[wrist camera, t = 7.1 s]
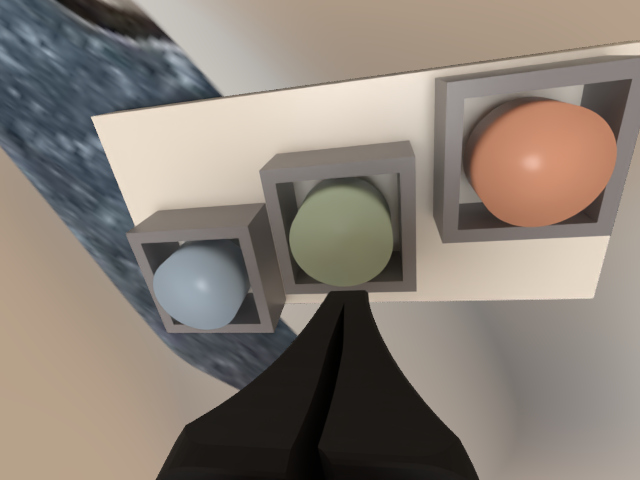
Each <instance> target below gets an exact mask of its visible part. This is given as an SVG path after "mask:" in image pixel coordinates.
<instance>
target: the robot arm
mask: <svg viewBox="0 0 640 480" xmlns="http://www.w3.org/2000/svg"><path fill="white" fill-rule="evenodd" d="M156 480H479V478H478V476H477V473H476V471H475V469H474V466H473V464H472V462H471V460H470V458H469V456H468V454H467V452H466V450H465V448H464V446H463V445H462V443H461V441H460V439H459V438H458V437H457V436H456V435H455V434H454V433H453V432H452V431H451V430H450V429H449V428H448V427H447V426H446V425H445V424H444V423H443V422H442V421H441V420H440V419H439V417H438V416H437V415H436V414H435V413H434V412H433V411H432V410H431V409H430V407H429V406H428V405H427V404H426V403H425V402H424V400H423V399H422V398H421V397H420V395H419V394H418V393H417V392H416V390H415V389H414V388H413V386H412V385H411V384H410V383H409V381H408V380H407V378H406V377H405V376H404V374H403V373H402V371H401V370H400V368H399V367H398V365H397V363H396V362H395V360H394V359H393V357H392V356H391V354H390V352H389V350H388V348H387V346H386V344H385V343H384V341H383V339H382V337H381V335H380V332H379V330H378V328H377V325H376V323H375V320H374V318H373V315H372V312H371V309H370V305H369V295H368V292H367V291H366V290H347V291H330V292H329V293H328V294H327V296H326V298H325V299H324V301H323V302H322V304H321V305H320V307H319V309H318V310H317V311H316V313H315V314H314V316H313V317H312V319H311V320H310V321H309V323H308V324H307V325H306V327H305V328H304V329H303V330H302V332H301V333H300V334H299V335H298V337H297V338H296V339H295V340H294V341H293V342H292V344H291V345H290V346H289V347H288V348H287V349H286V350H285V351H284V353H283V354H282V355H281V356H280V357H279V358H278V359H277V360H276V361H275V362H274V363H273V364H272V365H271V366H269V367H268V368H267V369H266V370H265V371H264V372H263V373H262V374H260V375H259V376H258V377H257V378H256V379H254V380H253V381H252V382H251V383H250V384H248V385H247V386H246V387H244V388H243V389H242V390H240V391H239V392H238V393H236V394H235V395H234V396H232V397H231V398H229V399H228V400H226V401H225V402H223V403H222V404H220V405H219V406H217V407H216V408H214V409H212V410H211V411H209V412H208V413H206V414H204V415H203V416H201V417H199V418H198V419H196V420H194V421H193V422H191V423H189V424H187V425H186V426H185V427H184V429H183V431H182V432H181V434H180V435H179V437H178V439H177V440H176V442H175V444H174V446H173V447H172V449H171V451H170V453H169V455H168V457H167V459H166V461H165V463H164V465H163V467H162V469H161V471H160V472H159V474H158V477H157V478H156Z"/></svg>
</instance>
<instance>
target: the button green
mask: <svg viewBox="0 0 640 480" xmlns="http://www.w3.org/2000/svg"><path fill="white" fill-rule="evenodd" d="M289 241H290V248H291V252H292V254H293V256H294V258H295V260H296V262H297V263H298V265H299V266H300V267H301V268H302V269H303V270H304V271H305V272H306V273H307V274H308V275H309V276H311V277H312V278H314V279H316V280H318V281H320V282H322V283H325V284H328V285H333V286H343V287H346V286H354V285H359V284H362V283H365V282H367V281H369V280H371V279H372V278H374V277H375V276H377V275H378V274H379V273H380V272H381V271H382V270H383V269H384V268H385V266H386V265H387V263H388V261H389V259H390V257H391V254H392V249H393V234H392V223H391V213H390V209H389V205H388V203H387V201H386V199H385V198H384V196H383V195H382V194H381V192H380V191H379V190H378V189H377V188H376V187H374V186H373V185H372V184H370V183H368V182H366V181H364V180H362V179H359V178H355V177H344V178H332V179H327V180H324V181H322V182H321V183H319V184H317V185H316V186H315V187H313V188H312V189H311V190H310V192H309V193H308V194H307V196H306V197H305V199H304V201H303V203H302V205H301V207H300V209H299V211H298V213H297V215H296V217H295V219H294V221H293V223H292V226H291V229H290V235H289Z"/></svg>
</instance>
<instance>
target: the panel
mask: <svg viewBox="0 0 640 480" xmlns="http://www.w3.org/2000/svg"><path fill="white" fill-rule="evenodd" d="M523 97H544V98H549V99H553V100H557V101H561V102H565V103H569V104H573V105H577V106H581V107H584V108H587V109H589V110H592V111H593V112H595V113H597V114H598V115H599V116H601V117H602V118H603V119H604V120H605V121H606V122H607V124H608V125H609V126H610V128H611V130H612V132H613V134H614V137H615V140H616V146H617V157H616V163H615V167H614V170H613V173H612V175H611V178H610V180H609V182H608V183H607V185H606V186H605V188H604V189H603V191H602V192H601V193H600V194H599V196H598V197H597V198H596V199H595V200H594V201H593V202H592V203H591V204H589V205H588V206H587V207H586V208H585V209H583V210H582V211H580V212H579V213H577V214H576V215H574V216H572V217H570V218H568V219H566V220H563V221H561V222H558V223H555V224H552V225H547V226H541V227H522V226H516V225H512V224H509V223H506V222H504V221H502V220H500V219H499V218H497V217H496V216H494V215H493V214H492V213H491V212H490V211H489V210H488V209H487V207H486V206H485V205H484V203H483V202H482V201H481V199H480V198H479V196H478V195H477V194H476V192H475V191H474V189H473V188H472V187H471V185H470V184H469V182H468V180H467V178H466V175H465V172H464V167H463V156H464V150H465V146H466V144H467V141H468V139H469V137H470V135H471V133H472V131H473V130H474V128H475V127H476V126H477V124H478V123H479V122H480V121H481V120H482V119H483V118H484V117H485V116H486V115H487V114H488V113H490V112H491V111H492V110H494V109H495V108H497V107H499V106H500V105H502V104H504V103H507V102H509V101H512V100H515V99H518V98H523ZM91 118H92V121H93V123H94V126H95V128H96V131H97V133H98V136H99V138H100V141H101V143H102V146H103V148H104V150H105V153H106V155H107V158H108V160H109V163H110V165H111V168H112V170H113V173H114V175H115V178H116V180H117V182H118V185H119V187H120V190H121V192H122V195H123V197H124V200H125V202H126V205H127V207H128V210H129V212H130V215H131V217H132V219H133V222H134V224H135V227H134V228H132V229H131V230H130V231H128V232H127V233H126V236H127V238H128V241H129V243H130V245H131V248H132V250H133V252H134V255H135V257H136V259H137V262H138V264H139V267H140V269H141V271H142V274H143V276H144V278H145V281H146V283H147V285H148V288H149V290H150V292H151V295H152V297H153V300H154V302H155V304H156V307H157V309H158V311H159V314H160V316H161V318H162V321H163V323H164V326H165V328H166V330H167V333H274V331H275V328H276V326H277V323H278V320H279V318H280V315H281V312H282V309H283V307H284V304H301V303H304V304H305V303H322V302H323V301H324V299H325V298H326V296H327V294H328V293H329V292H330V291H347V290H366V291H367V292H368V295H369V302H414V301H415V302H416V301H417V302H418V301H476V300H529V299H530V300H533V299H586V298H587V299H589V298H594V294H595V290H596V287H597V283H598V279H599V276H600V272H601V268H602V264H603V260H604V257H605V253H606V249H607V245H608V242H609V238H610V236H611V233H612V229H613V226H614V222H615V218H616V215H617V211H618V207H619V203H620V200H621V196H622V192H623V189H624V185H625V181H626V177H627V174H628V170H629V166H630V162H631V159H632V155H633V152H634V148H635V144H636V140H637V136H638V133H639V129H640V41H627V42H620V43H612V44H604V45H597V46H590V47H582V48H576V49H568V50H561V51H553V52H547V53H539V54H532V55H524V56H517V57H509V58H502V59H496V60H488V61H480V62H474V63H466V64H458V65H451V66H444V67H437V68H429V69H422V70H415V71H407V72H401V73H393V74H386V75H378V76H371V77H364V78H357V79H349V80H342V81H334V82H327V83H320V84H313V85H305V86H298V87H291V88H283V89H276V90H269V91H261V92H254V93H247V94H239V95H232V96H225V97H218V98H210V99H203V100H196V101H188V102H181V103H174V104H166V105H159V106H152V107H145V108H137V109H130V110H123V111H116V112H111V113H106V114H102V115H97V116H92V117H91ZM344 177H355V178H359V179H362V180H364V181H366V182H368V183H370V184H372V185H373V186H374V187H376V188H377V189H378V190H379V191H380V192H381V194H382V195H383V196H384V198H385V199H386V201H387V203H388V205H389V209H390V213H391V223H392V234H393V249H392V254H391V257H390V259H389V261H388V263H387V265H386V266H385V268H384V269H383V270H382V271H381V272H380V273H379V274H378V275H377V276H375V277H374V278H372V279H371V280H369V281H367V282H365V283H362V284H359V285H354V286H346V287H343V286H333V285H328V284H325V283H322V282H320V281H318V280H316V279H314V278H312V277H311V276H309V275H308V274H307V273H306V272H305V271H304V270H303V269H302V268H301V267H300V266H299V265H298V263H297V262H296V260H295V258H294V256H293V254H292V252H291V248H290V241H289V235H290V229H291V226H292V223H293V221H294V219H295V217H296V215H297V213H298V211H299V209H300V207H301V205H302V203H303V201H304V199H305V197H306V196H307V194H308V193H309V192H310V190H311V189H312V188H313V187H315V186H316V185H317V184H319V183H321V182H322V181H324V180H327V179H332V178H344ZM213 239H228V240H230V241H231V242H233V243H234V244H236V245H237V246H238V247H239V248H240V249H241V250H242V254H243V257H244V261H245V265H246V269H247V273H248V276H249V280H250V284H251V288H250V289H249V291H248V293H247V295H246V297H245V299H244V300H243V302H242V304H241V306H240V308H239V310H238V311H237V313H236V315H235V317H234V318H233V320H232V321H231V322H230V323H228V324H227V325H225V326H223V327H221V328H217V329H211V330H203V329H197V328H193V327H190V326H187V325H185V324H183V323H181V322H179V321H177V320H176V319H174V318H173V317H172V316H170V315H169V314H168V313H167V312H166V311H165V310H164V309H163V307H162V306H161V305H160V303H159V302H158V300H157V298H156V296H155V293H154V288H153V278H154V275H155V272H156V270H157V269H158V268H159V266H160V265H161V264H163V263H164V262H165V261H166V260H167V259H168V258H169V257H170V256H171V255H172V254H173V253H174V252H175V251H176V250H177V249H178V248H179V247H180V246H181V245H182V244H183V243H184V242H185V241H195V240H213Z"/></svg>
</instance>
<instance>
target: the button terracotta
mask: <svg viewBox="0 0 640 480" xmlns="http://www.w3.org/2000/svg"><path fill="white" fill-rule="evenodd" d="M616 157H617V146H616V140H615V137H614V134H613V132H612V130H611V128H610V126H609V125H608V124H607V122H606V121H605V120H604V119H603V118H602V117H601V116H599V115H598V114H597V113H595V112H593V111H592V110H589V109H587V108H584V107H581V106H577V105H573V104H569V103H565V102H561V101H557V100H553V99H549V98H544V97H523V98H518V99H515V100H512V101H509V102H507V103H504V104H502V105H500V106H499V107H497V108H495V109H494V110H492V111H491V112H490V113H488V114H487V115H486V116H485V117H484V118H483V119H482V120H481V121H480V122H479V123H478V124H477V126H476V127H475V128H474V130H473V131H472V133H471V135H470V137H469V139H468V141H467V144H466V146H465V150H464V156H463V167H464V172H465V175H466V178H467V180H468V182H469V184H470V185H471V187H472V188H473V189H474V191H475V192H476V194H477V195H478V196H479V198H480V199H481V201H482V202H483V203H484V205H485V206H486V207H487V209H488V210H489V211H490V212H491V213H492V214H493V215H494V216H496V217H497V218H499V219H500V220H502V221H504V222H506V223H509V224H512V225H516V226H522V227H541V226H547V225H552V224H555V223H558V222H561V221H563V220H566V219H568V218H570V217H572V216H574V215H576V214H577V213H579V212H580V211H582V210H583V209H585V208H586V207H587V206H588V205H589V204H591V203H592V202H593V201H594V200H595V199H596V198H597V197H598V196H599V194H600V193H601V192H602V191H603V189H604V188H605V186H606V185H607V183H608V182H609V180H610V178H611V175H612V173H613V170H614V167H615V163H616Z"/></svg>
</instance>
